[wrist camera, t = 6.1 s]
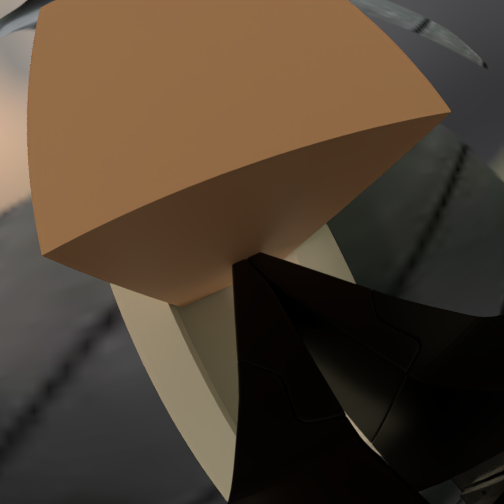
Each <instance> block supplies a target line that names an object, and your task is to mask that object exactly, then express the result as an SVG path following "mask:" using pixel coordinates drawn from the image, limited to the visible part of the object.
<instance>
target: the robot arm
mask: <svg viewBox="0 0 504 504" xmlns="http://www.w3.org/2000/svg"><path fill="white" fill-rule="evenodd" d="M232 282H233V301H234V318H235V334H236V350H237V361H238V363H237V368H238V393H239V400H238V421H237V432H236V444H235V455H234V466H233V476H232V483H231V490H230V495H229V499H228V503H227V504H430V503H429V502H428V501H427V500H426V499H425V498H424V497H423V496H421V495H420V494H419V493H418V492H419V491H422V490H424V489H427V488H430V487H432V486H435V485H437V484H440V483H442V482H444V481H447V480H449V479H452V480H453V482H454V483H455V484H456V485H457V486H458V488H459V489H460V490H461V491H462V492H463V493H462V494H461V495H460V497H461V499H462V500H463V501H464V502H465V503H466V504H504V314H502V315H498V316H493V317H477V316H471V315H466V314H462V313H457V312H453V311H449V310H444V309H440V308H436V307H431V306H427V305H423V304H419V303H415V302H411V301H407V300H404V299H401V298H397V297H394V296H391V295H388V294H385V293H382V292H379V291H376V290H372V291H371V290H370V289H369V288H366V287H364V286H361V285H358V284H355V283H352V282H349V281H346V280H343V279H340V278H337V277H334V276H331V275H328V274H325V273H322V272H319V271H316V270H313V269H310V268H307V267H304V266H301V265H298V264H295V263H292V262H289V261H286V260H283V259H280V258H277V257H274V256H271V255H269V254H266V253H262V252H259V253H257V254H254V255H252V256H250V257H248V258H247V260H246V259H243V260H241V261H239V262H236V263H234V264H232ZM344 411H345V412H344ZM346 414H347V415H348V416H349V418H350V419H351V420H352V421H353V422H354V424H355V425H356V426H357V427H358V428H359V430H360V431H361V432H362V433H363V434H364V436H365V437H366V438H367V439H368V440H369V442H370V443H372V445H373V447H374V448H375V449H376V450H377V451H378V452H379V454H380V455H381V456H382V457H383V458H384V460H385V461H386V462H387V463H388V464H389V465H390V466H389V465H388V464H387V463H386V462H385V461H384V460H383V459H382V458H381V457H380V456H379V455H378V454H377V453H376V452H375V451H374V450H373V449H372V448H371V447H370V446H369V445H368V444H367V443H366V442H365V441H364V440H363V439H362V438H361V436H360V435H359V434H358V432H357V431H356V430H355V428H354V427H353V425H352V424H351V422H350V420H349V419H348V417H346Z"/></svg>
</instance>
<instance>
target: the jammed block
mask: <svg viewBox="0 0 504 504" xmlns="http://www.w3.org/2000/svg"><path fill="white" fill-rule="evenodd" d="M449 113H451V111H450V109H449V108H448V106H447V105H446V103H445V102H444V101H443V99H442V98H441V97H440V95H439V94H438V93H437V92H436V90H435V89H434V88H433V86H432V85H431V84H430V83H429V81H428V80H427V79H426V78H425V76H424V75H423V74H422V73H421V72H420V70H419V69H418V68H417V67H416V66H415V65H414V64H413V62H412V61H411V60H410V59H409V58H408V57H407V56H406V55H405V54H404V52H403V51H402V50H401V49H400V48H399V47H398V46H397V45H396V44H395V43H394V42H393V41H392V40H391V39H390V38H389V37H388V36H387V35H386V34H385V33H384V32H383V31H382V30H381V29H380V28H379V27H378V26H377V25H376V24H375V23H373V22H372V21H371V20H370V19H369V18H368V17H367V16H366V15H365V14H363V13H362V12H361V11H360V10H359V9H358V8H356V7H355V6H354V5H353V4H352V3H350V2H349V1H348V0H55V1H53V2H51V3H49V4H47V5H45V6H43V7H42V8H40V12H39V16H38V21H37V26H36V31H35V37H34V43H33V50H32V56H31V64H30V75H29V86H28V105H27V146H28V164H29V177H30V187H31V195H32V203H33V210H34V216H35V222H36V228H37V233H38V239H39V244H40V248H41V253H42V256H44V257H46V258H49V259H51V260H54V261H56V262H58V263H61V264H63V265H66V266H68V267H70V268H73V269H75V270H78V271H80V272H83V273H86V274H88V275H91V276H93V277H96V278H99V279H101V280H104V281H106V282H109V283H112V284H115V285H117V286H120V287H123V288H126V289H128V290H131V291H134V292H137V293H140V294H143V295H146V296H149V297H152V298H155V299H157V300H161V301H164V302H167V303H170V304H173V305H176V306H179V307H184V306H187V305H189V304H191V303H194V302H196V301H198V300H200V299H203V298H205V297H207V296H209V295H212V294H214V293H216V292H218V291H221V290H223V289H225V288H227V287H229V286H232V285H233V282H232V264H234V263H236V262H239V261H241V260H243V259H246V260H247V258H248V257H250V256H252V255H254V254H257V253H259V252H262V253H266V254H269V255H271V256H274V257H277V258H280V259H284V258H285V257H287V256H288V255H289V254H290V253H291V252H293V251H294V250H295V249H296V248H297V247H299V246H300V245H301V244H302V243H303V242H304V241H306V240H307V239H308V238H309V237H310V236H312V235H313V234H314V233H315V232H316V231H318V230H319V229H320V228H321V227H322V226H323V225H325V224H326V223H327V222H328V221H329V220H330V219H332V218H333V217H334V216H335V215H336V214H337V213H339V212H340V211H341V210H342V209H343V208H344V207H346V206H347V205H348V204H349V203H350V202H351V201H352V200H354V199H355V198H356V197H357V196H358V195H359V194H361V193H362V192H363V191H364V190H365V189H366V188H367V187H369V186H370V185H371V184H372V183H373V182H374V181H375V180H377V179H378V178H379V177H380V176H381V175H382V174H383V173H384V172H386V171H387V170H388V169H389V168H390V167H391V166H392V165H393V164H395V163H396V162H397V161H398V160H399V159H400V158H401V157H402V156H404V155H405V154H406V153H407V152H408V151H409V150H410V149H411V148H412V147H414V146H415V145H416V144H417V143H418V142H419V141H420V140H421V139H422V138H423V137H425V136H426V135H427V134H428V133H429V132H430V131H431V130H432V129H433V128H434V127H435V126H437V125H438V124H439V123H440V122H441V121H442V120H443V119H444V118H445V117H446V116H447V115H448V114H449Z"/></svg>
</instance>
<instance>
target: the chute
mask: <svg viewBox="0 0 504 504" xmlns="http://www.w3.org/2000/svg"><path fill="white" fill-rule="evenodd" d="M283 260H286V261H289V262H292V263H295V264H298V265H301V266H304V267H307V268H310V269H313V270H316V271H319V272H322V273H325V274H328V275H331V276H334V277H337V278H340V279H343V280H346V281H349V282H352V283H355V281H354V278H353V276H352V274H351V272H350V270H349V268H348V266H347V264H346V262H345V260H344V257H343V255H342V253H341V251H340V249H339V247H338V245H337V243H336V241H335V239H334V237H333V235H332V233H331V231H330V229H329V227H328V225H327V224H325V225H323V226H322V227H321V228H320V229H319V230H318V231H316V232H315V233H314V234H313V235H312V236H310V237H309V238H308V239H307V240H306V241H304V242H303V243H302V244H301V245H300V246H299V247H297V248H296V249H295V250H294V251H293V252H291V253H290V254H289V255H288V256H287V257H285V258H284V259H283ZM355 284H356V283H355ZM110 285H111V288H112V291H113V293H114V296H115V299H116V301H117V304H118V306H119V309H120V312H121V314H122V317H123V319H124V321H125V324H126V326H127V329H128V331H129V333H130V336H131V338H132V340H133V342H134V345H135V347H136V349H137V351H138V354H139V356H140V358H141V360H142V362H143V364H144V366H145V368H146V370H147V372H148V374H149V376H150V378H151V380H152V382H153V384H154V386H155V388H156V390H157V392H158V394H159V396H160V398H161V400H162V401H163V403H164V405H165V407H166V409H167V411H168V412H169V414H170V416H171V418H172V419H173V421H174V423H175V425H176V426H177V428H178V430H179V431H180V433H181V435H182V436H183V438H184V440H185V441H186V443H187V444H188V446H189V448H190V449H191V451H192V452H193V454H194V455H195V457H196V458H197V460H198V461H199V463H200V464H201V466H202V467H203V469H204V470H205V472H206V473H207V475H208V476H209V477H210V479H211V480H212V482H213V483H214V484H215V486H216V487H217V488H218V490H219V491H220V493H221V494H222V495H223V496H224V498H225V499H226V500H227V502H228V499H229V495H230V490H231V483H232V476H233V466H234V455H235V444H236V432H237V421H238V400H239V393H238V368H237V363H238V361H237V350H236V334H235V318H234V301H233V285H232V286H229V287H227V288H225V289H223V290H221V291H218V292H216V293H214V294H212V295H209V296H207V297H205V298H203V299H200V300H198V301H196V302H194V303H191V304H189V305H187V306H184V307H179V306H176V305H173V304H170V303H167V302H164V301H161V300H157V299H155V298H152V297H149V296H146V295H143V294H140V293H137V292H134V291H131V290H128V289H126V288H123V287H120V286H117V285H115V284H112V283H110ZM344 412H345V411H344ZM346 417H348V419H349V420H350V422H351V424H352V425H353V427H354V428H355V430H356V431H357V432H358V434H359V435H360V436H361V438H362V439H363V440H364V441H365V442H366V443H367V444H368V445H369V446H370V447H371V448H372V449H373V450H374V451H375V452H376V453H378V454H379V452H378V451H377V450H376V449H375V448H374V447H373V445H372V443H370V442H369V440H368V439H367V438H366V437H365V436H364V434H363V433H362V432H361V431H360V430H359V428H358V427H357V426H356V425H355V424H354V422H353V421H352V420H351V419H350V418H349V416H348V415H347V414H346ZM379 455H380V454H379ZM380 456H381V455H380Z"/></svg>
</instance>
